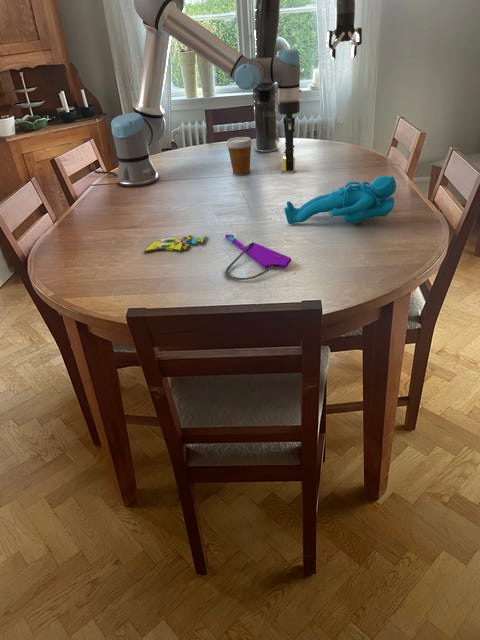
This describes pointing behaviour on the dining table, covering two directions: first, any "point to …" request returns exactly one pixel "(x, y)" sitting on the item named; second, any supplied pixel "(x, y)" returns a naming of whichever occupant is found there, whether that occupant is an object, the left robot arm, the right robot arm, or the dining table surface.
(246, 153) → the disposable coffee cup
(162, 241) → the toy
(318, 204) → the toy
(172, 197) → the dining table surface
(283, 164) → the canister
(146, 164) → the left robot arm
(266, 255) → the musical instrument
